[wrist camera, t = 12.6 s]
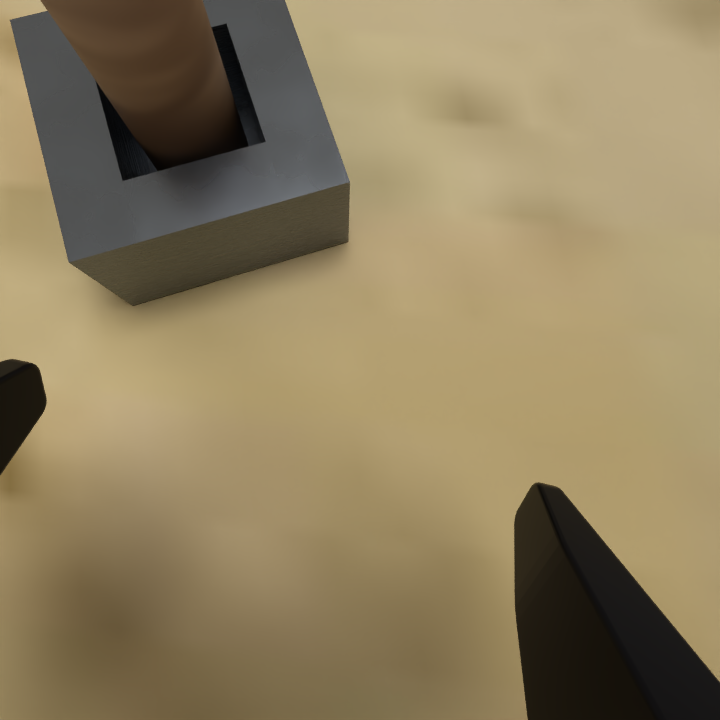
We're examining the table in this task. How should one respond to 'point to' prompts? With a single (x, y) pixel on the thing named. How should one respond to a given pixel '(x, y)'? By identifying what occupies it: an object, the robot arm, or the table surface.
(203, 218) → the bore block
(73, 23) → the walnut pin
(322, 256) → the table surface
